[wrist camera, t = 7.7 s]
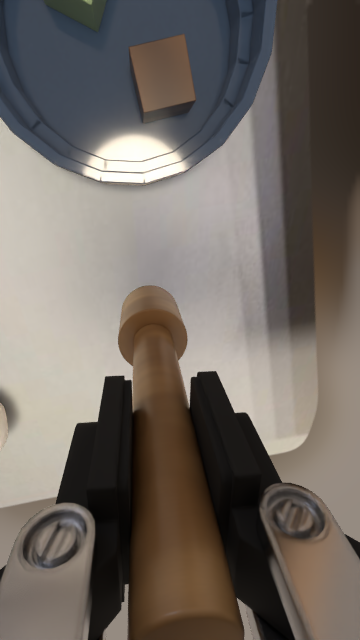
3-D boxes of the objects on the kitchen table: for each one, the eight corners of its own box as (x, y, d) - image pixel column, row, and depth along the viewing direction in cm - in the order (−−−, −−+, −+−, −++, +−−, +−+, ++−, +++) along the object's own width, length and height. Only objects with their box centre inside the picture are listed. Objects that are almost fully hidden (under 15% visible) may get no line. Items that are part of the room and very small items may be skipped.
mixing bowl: (263, -118, 24) (301, -213, 18) (235, 189, 31) (256, 188, 25) (-44, -167, 21) (-109, -296, 16) (5, 180, 28) (-27, 177, 23)
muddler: (178, 284, 18) (305, 569, 4) (177, 336, 20) (277, 690, 6) (120, 285, 18) (65, 599, 4) (123, 338, 19) (87, 723, 5)
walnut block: (178, 55, 26) (184, 33, 23) (188, 112, 28) (196, 100, 24) (129, 67, 26) (128, 46, 22) (143, 123, 28) (143, 112, 24)
